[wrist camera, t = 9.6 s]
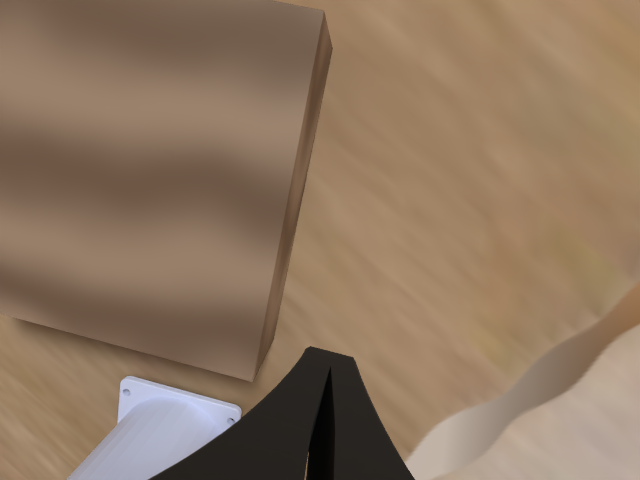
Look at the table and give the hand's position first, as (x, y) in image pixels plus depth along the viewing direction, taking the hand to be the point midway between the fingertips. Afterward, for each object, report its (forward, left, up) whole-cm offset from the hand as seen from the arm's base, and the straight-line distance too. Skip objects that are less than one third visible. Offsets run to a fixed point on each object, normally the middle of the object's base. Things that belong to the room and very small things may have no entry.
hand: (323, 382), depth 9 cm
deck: (+3, +11, -9) cm, 15 cm away
